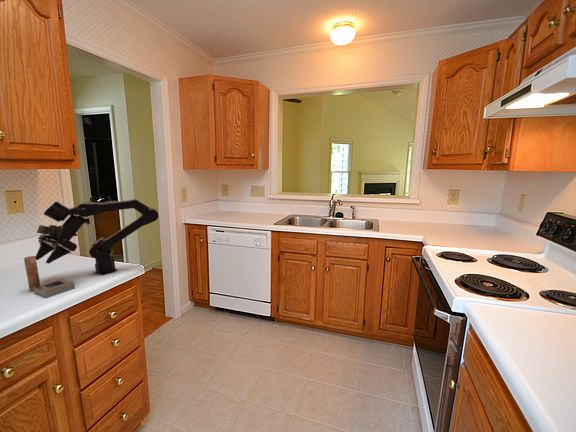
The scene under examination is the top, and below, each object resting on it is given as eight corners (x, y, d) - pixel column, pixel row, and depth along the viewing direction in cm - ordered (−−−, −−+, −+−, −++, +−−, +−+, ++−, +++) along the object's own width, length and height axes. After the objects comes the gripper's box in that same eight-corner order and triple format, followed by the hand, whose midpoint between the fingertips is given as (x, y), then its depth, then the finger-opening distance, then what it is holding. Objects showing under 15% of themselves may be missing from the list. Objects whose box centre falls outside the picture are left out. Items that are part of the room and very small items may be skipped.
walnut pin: (38, 287, 107) (33, 255, 105) (42, 289, 106) (37, 256, 104) (28, 290, 104) (22, 258, 102) (32, 292, 103) (26, 259, 101)
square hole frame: (62, 284, 110) (61, 278, 110) (74, 288, 106) (74, 282, 106) (34, 293, 102) (33, 286, 102) (46, 297, 98) (45, 291, 98)
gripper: (40, 215, 112) (8, 247, 105) (63, 218, 104) (30, 254, 96) (65, 230, 121) (38, 261, 113) (88, 234, 112) (60, 268, 104)
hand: (41, 261), depth 106 cm, fingers open, 9 cm apart
